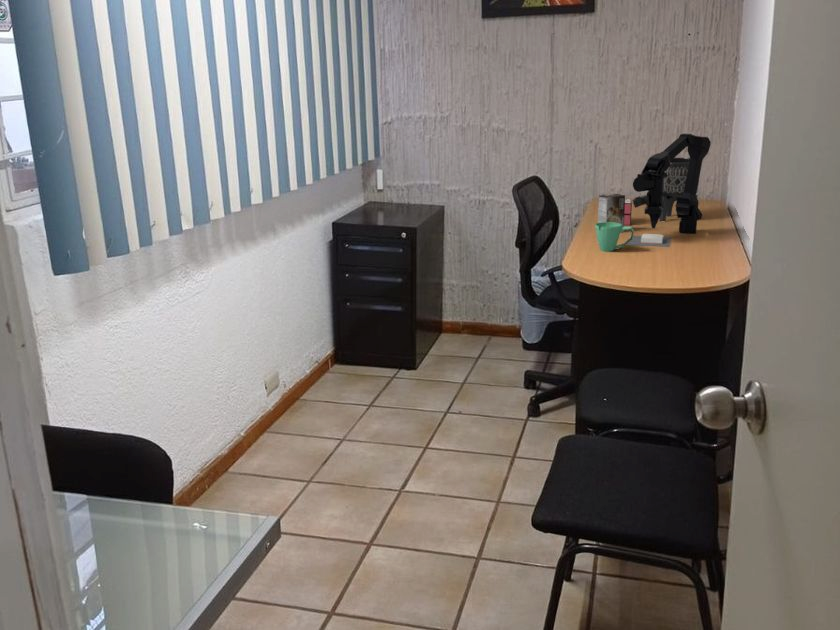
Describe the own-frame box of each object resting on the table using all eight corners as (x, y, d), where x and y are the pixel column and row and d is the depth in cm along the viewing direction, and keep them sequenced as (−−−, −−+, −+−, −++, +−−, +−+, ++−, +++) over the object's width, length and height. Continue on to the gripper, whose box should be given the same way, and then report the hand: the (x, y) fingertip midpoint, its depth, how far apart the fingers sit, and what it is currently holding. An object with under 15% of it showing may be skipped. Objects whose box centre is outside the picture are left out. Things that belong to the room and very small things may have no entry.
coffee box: (615, 230, 347) (616, 193, 343) (624, 233, 342) (626, 195, 337) (596, 232, 344) (598, 195, 339) (605, 235, 338) (607, 197, 334)
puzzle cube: (630, 225, 357) (631, 203, 354) (607, 225, 359) (608, 202, 356) (629, 221, 366) (631, 199, 363) (607, 221, 368) (608, 199, 365)
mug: (592, 252, 311) (593, 226, 308) (596, 246, 319) (597, 221, 316) (632, 254, 306) (633, 228, 303) (634, 248, 315) (635, 223, 312)
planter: (700, 216, 371) (705, 158, 363) (692, 224, 355) (697, 163, 347) (656, 214, 380) (660, 156, 372) (647, 221, 364) (650, 162, 356)
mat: (671, 238, 329) (671, 237, 329) (669, 248, 313) (669, 246, 313) (631, 236, 335) (631, 235, 334) (626, 246, 318) (626, 244, 318)
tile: (663, 234, 325) (662, 238, 318) (663, 239, 326) (661, 243, 319) (642, 233, 328) (641, 237, 320) (642, 238, 328) (640, 242, 321)
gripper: (636, 185, 332) (634, 223, 336) (632, 192, 315) (630, 231, 320) (665, 185, 328) (662, 224, 333) (662, 193, 311) (659, 233, 316)
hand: (653, 228), depth 325 cm, fingers closed
